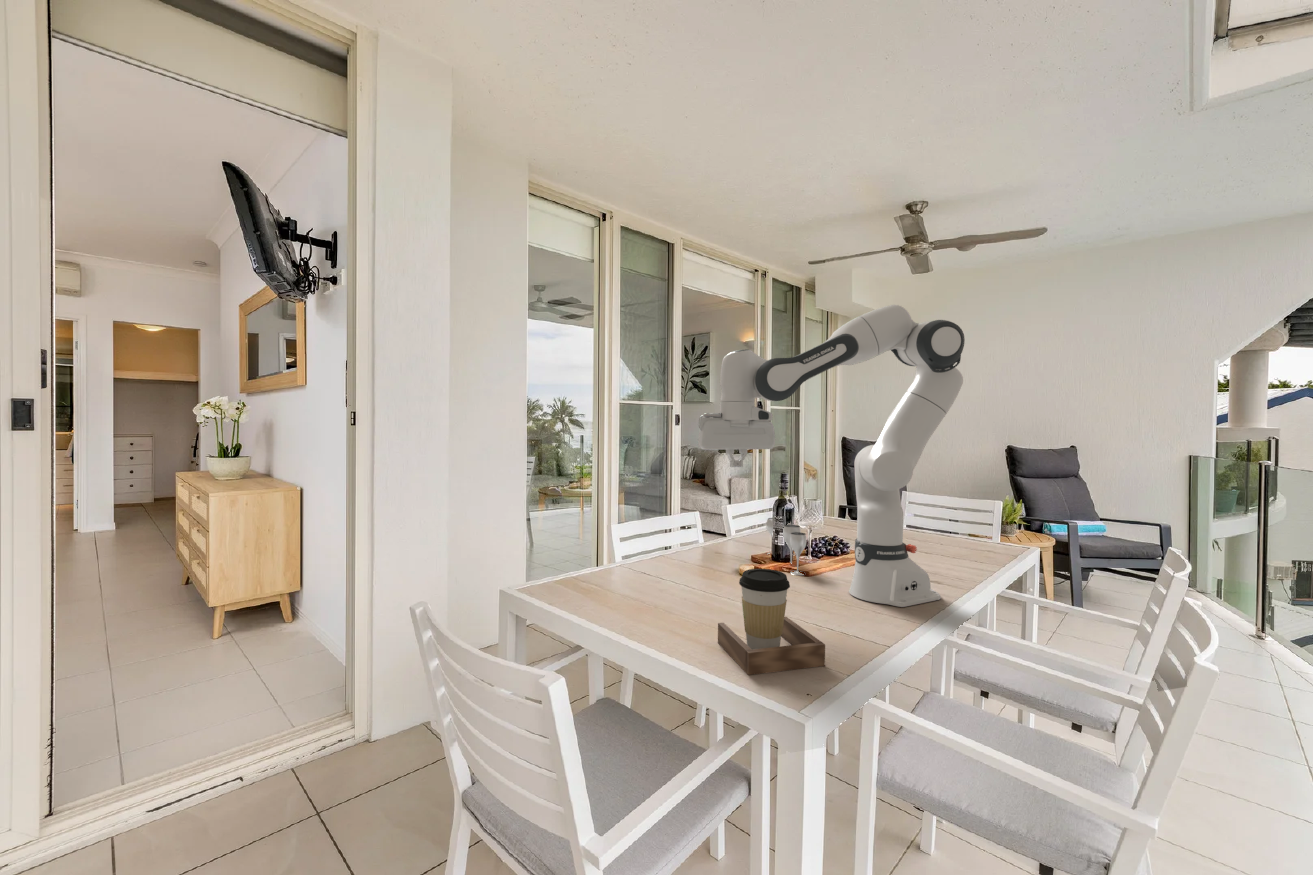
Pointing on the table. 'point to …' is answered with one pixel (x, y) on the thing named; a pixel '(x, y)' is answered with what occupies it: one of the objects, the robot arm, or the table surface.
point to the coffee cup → (763, 606)
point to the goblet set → (791, 540)
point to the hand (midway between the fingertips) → (736, 467)
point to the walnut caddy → (775, 650)
